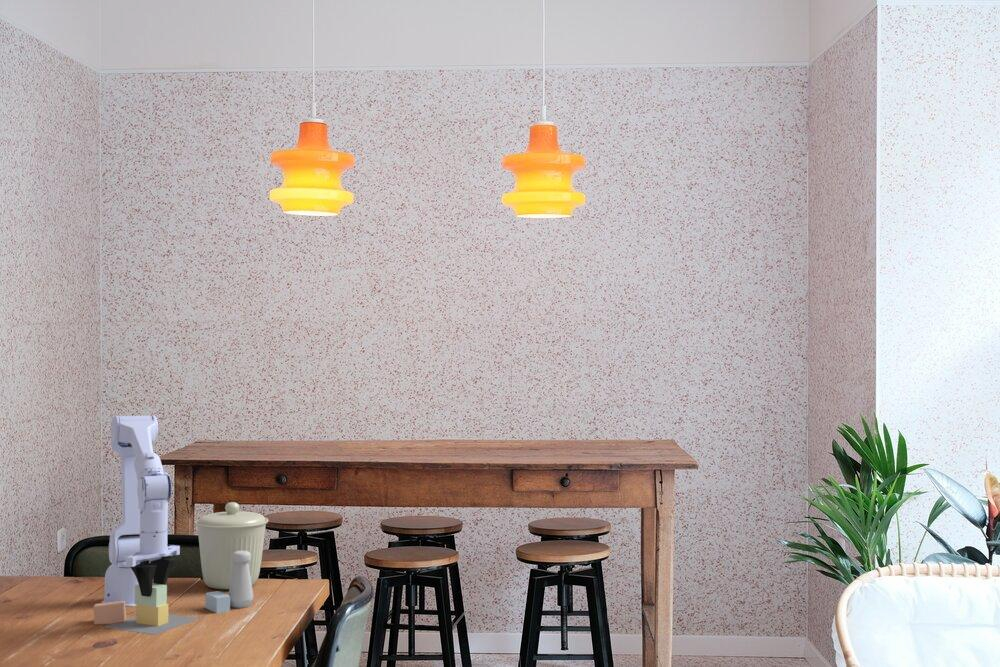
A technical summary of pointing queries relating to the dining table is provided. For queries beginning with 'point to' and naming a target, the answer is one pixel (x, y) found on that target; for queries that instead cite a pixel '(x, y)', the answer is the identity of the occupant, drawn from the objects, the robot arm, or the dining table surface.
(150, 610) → the mustard brick
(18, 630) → the dining table surface
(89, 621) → the dining table surface
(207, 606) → the slate brick
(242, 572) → the salt shaker
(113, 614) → the terracotta brick
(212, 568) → the canister
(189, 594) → the dining table surface
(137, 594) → the green brick
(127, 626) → the felt mat
